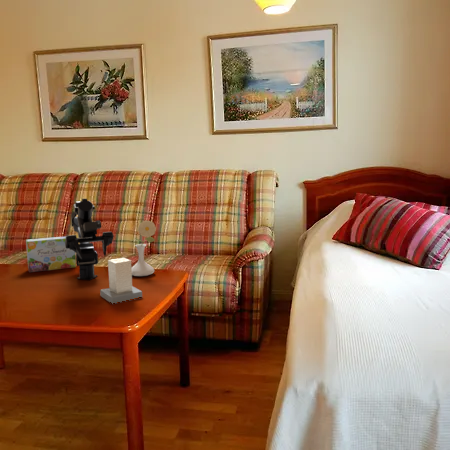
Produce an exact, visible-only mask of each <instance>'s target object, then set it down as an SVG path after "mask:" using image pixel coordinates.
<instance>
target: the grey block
mask: <svg viewBox="0 0 450 450" xmlns="http://www.w3.org/2000/svg"><path fill="white" fill-rule="evenodd" d="M99 292H100V294H99V295H100V297H101V298H102V299H104V300H106V301H107V302H108V303H110V302H111V303H112V305H114V304H113V303H115V304H118V303H117V302H120V303H123V302H122V301H125V302H127V301H126V300H129V301H131V300H130V299H134V298H138V297H142V298H143V291H142V290H140V289H138V288H137V287H135V286H133V285H132V291H131V292H127V293H122V294H118V295H117V294H115V293H113V292H111V291H110V290H109V287H108V288H102V289H99ZM134 300H135V299H134ZM111 303H110V304H111Z"/></svg>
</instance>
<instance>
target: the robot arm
mask: <svg viewBox="0 0 450 450" xmlns="http://www.w3.org/2000/svg"><path fill="white" fill-rule="evenodd" d="M94 210H96V208H95V205H94V204H93V203H92V202H91V200H88V198H81V200H80V201H78V200H77V201H75V202H74V204H73V211H72V213H71V215H70V222H71V224H70V225H71V227H72V228H73V231H74V232H76V233H77V235H76V234H71V235H69V234H68V235H65V236H66V239H65V247H66V248H67V249H68V248H69V249H70V250H73V251H74V252H75V256H76V267H79V270H78V272H79V276H78V277H77V278H76V279H77V280H85V281H86V280H87V281H90V280H91V281H92V279H95V278H97V277H98V274H95V265H97V264H99V253H98V252H97V250H95V247H94V242H101V243H102V244H101V247H102V252H103V256H104V257H106V256H107V247H108V246H110V245H112V244H113V241H114V238H115V237H114V232H113V231H103V232H102V235H98V229H99V230H100V229H102V226H103V225H102V222H101V220H97V219H96V220H95V221H93V218H92V217H93V212H94ZM97 235H98V236H97Z"/></svg>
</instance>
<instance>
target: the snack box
mask: <svg viewBox="0 0 450 450" xmlns="http://www.w3.org/2000/svg"><path fill="white" fill-rule="evenodd" d="M66 236H67V235H65V236H56V237H54V236H53V237H42V238H40V237H39V238H31V239H25V245H26V257H27V269H28V272H29V273H35V272H42V271H43V272H44V271H45V272H46V271H54V270H61V269H63V270H64V269H73V268H77V264H76V253H75V252H74V251H73V250H70V249H69V248H68V249H67V248H66V247H65V239H66Z"/></svg>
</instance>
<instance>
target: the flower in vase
mask: <svg viewBox="0 0 450 450" xmlns="http://www.w3.org/2000/svg"><path fill="white" fill-rule="evenodd" d="M156 231H157V226H156V224H155V223H154V222H153V221H150V220H143V221H142V222H140V223H139V224H138V227H137V232H138V233H139V235H140V236H142V237H145V238H144V240H141V239H138V238H136V237H134V239H135V240H136V241H138V242H141V243H138V244H135V245H134V247H135V248H136V249H137V252H138V259H137V260H138V261H137V262H136V263H135V264H134V265H133V266H131V269H132V276H134V277H147V276H150V275H152V274H153V273H155V268H154V267H153V266H152V265H150V264H149V263H147V262H146V261H145V255H144V254H145V248H146V247H147V244H146V243H145V241H147V242H148V243H153V242H155V241H156V240H155V238H154V237H153V236H154V235H155V234H156Z"/></svg>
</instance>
